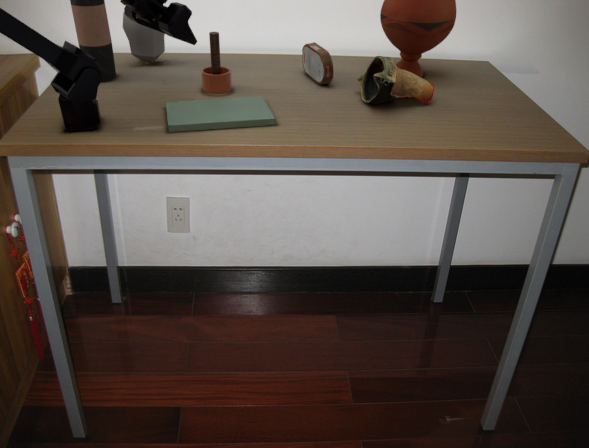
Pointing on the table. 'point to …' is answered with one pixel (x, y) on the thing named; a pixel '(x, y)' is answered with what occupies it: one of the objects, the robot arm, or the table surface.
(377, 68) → the pot
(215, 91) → the cup
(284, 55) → the table surface
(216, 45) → the stirrer
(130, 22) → the grey tall faceted solid
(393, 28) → the goblet
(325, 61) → the tin
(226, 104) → the board
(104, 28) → the travel mug
